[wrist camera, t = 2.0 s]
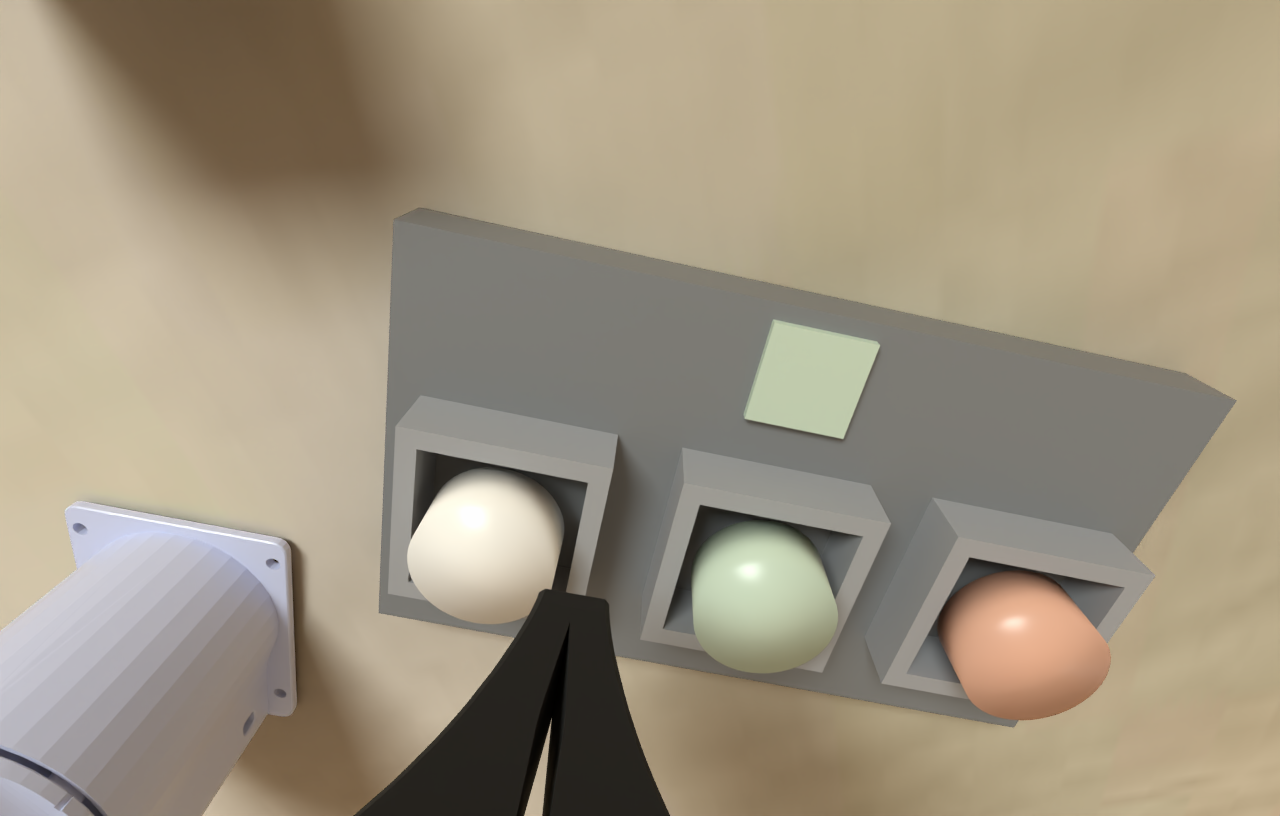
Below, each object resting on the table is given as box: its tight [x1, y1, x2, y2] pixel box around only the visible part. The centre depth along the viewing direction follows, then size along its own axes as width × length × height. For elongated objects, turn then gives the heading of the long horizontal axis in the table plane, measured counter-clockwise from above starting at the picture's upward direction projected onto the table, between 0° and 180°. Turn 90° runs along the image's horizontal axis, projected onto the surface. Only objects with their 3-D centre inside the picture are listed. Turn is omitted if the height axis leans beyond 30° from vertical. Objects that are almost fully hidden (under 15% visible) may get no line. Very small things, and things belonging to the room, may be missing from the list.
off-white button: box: [407, 467, 564, 624], centre depth 18 cm, size 4×4×2 cm
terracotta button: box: [937, 570, 1111, 720], centre depth 19 cm, size 4×4×2 cm
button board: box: [379, 208, 1236, 727], centre depth 21 cm, size 14×24×4 cm, turn 78°
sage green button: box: [691, 520, 838, 673], centre depth 19 cm, size 4×4×2 cm
